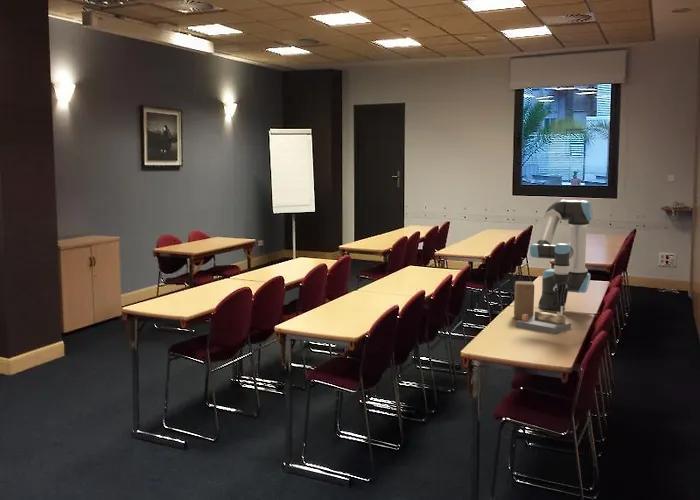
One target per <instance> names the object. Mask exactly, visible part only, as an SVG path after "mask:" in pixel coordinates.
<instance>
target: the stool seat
mask: <svg viewBox="0 0 700 500" xmlns="http://www.w3.org/2000/svg"><path fill="white" fill-rule="evenodd" d="M515 324H516V328H521V329H527V330H532V331H537V332H541V333H547V334H552V335H556V334H557V335H558V334H559V333H562V332H566V331H569V330H570V329H572V322H569V321H566V322H565V323H557V322H551V321H546V320H540V319H535V315H533V316H532V317H528V314H523V315H522V319H518V320H517V321H516V323H515Z"/></svg>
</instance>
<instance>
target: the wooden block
mask: <svg viewBox="0 0 700 500" xmlns="http://www.w3.org/2000/svg"><path fill="white" fill-rule="evenodd" d="M534 301H535V284H534V281H525V280H524V281H523V280H516V281H515V282H514V301H513V302H514V303H513V317H514V319H515V320H522V315H523V314H528V317H532V316H534V313H535V311H534V308H535V307H534V305H535V302H534Z"/></svg>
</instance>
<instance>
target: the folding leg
mask: <svg viewBox="0 0 700 500" xmlns="http://www.w3.org/2000/svg"><path fill="white" fill-rule="evenodd" d="M534 316H535V319H540V320H546V321H551V322H557V323H565V322H567V319H566V317H567V315H564V314H563V315H558V314H557V313H553V312H545V311H539V310H535V311H534Z"/></svg>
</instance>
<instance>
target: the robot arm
mask: <svg viewBox="0 0 700 500" xmlns="http://www.w3.org/2000/svg"><path fill="white" fill-rule="evenodd" d="M593 215H594V214H593V206H592V203H591V201H589V200H583V199H559V200H558V201H556V202H554V203H552V204H551V205H550V206H549V207H548V208H547V209H546V211H545V213H544V216H543V217H544V220H543V221H544V222H543V224H542V227H541V230H540V233H539V236H538V238H537V241H536V243H532V244H531V245H530V247H529V255H530V257H531V258H536V259H551V260H553V261H554V262H553V268H549V269H546V270H543V271H542V280H541V281H542V283H541V284H542V287H541V296H540V297H539V301H538V304H537V305H538V306H537V307H539V309H543V310H549V311H556V314H558V315H564V314H563V313H564V311H563V310H565V308H566V304H567V298H568V293H578V294H579V293H580V294H585V293H586V292H588V289H589V287H590V283H591V282H590V281H591V273H590V272H588V268H587V267H586V253H587V252H586V251H587V250H586V248H587V228H588V226H589V225H590V222H592V221H593ZM561 221H567V224H568V225H569V226H570V236H569V237H570V239H569V241H570V242H569V243H570V244H569V243H563V242H561V243H556V244H552V243H553V240H554V238H555V235H556V231H557V227H558V225H559V224H560V223H561Z"/></svg>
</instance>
